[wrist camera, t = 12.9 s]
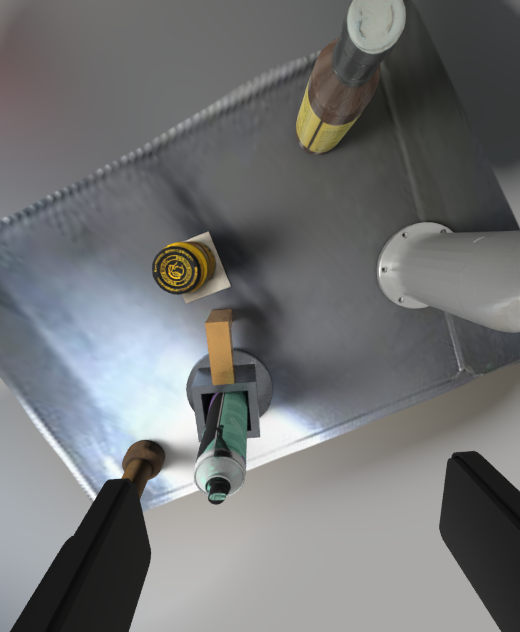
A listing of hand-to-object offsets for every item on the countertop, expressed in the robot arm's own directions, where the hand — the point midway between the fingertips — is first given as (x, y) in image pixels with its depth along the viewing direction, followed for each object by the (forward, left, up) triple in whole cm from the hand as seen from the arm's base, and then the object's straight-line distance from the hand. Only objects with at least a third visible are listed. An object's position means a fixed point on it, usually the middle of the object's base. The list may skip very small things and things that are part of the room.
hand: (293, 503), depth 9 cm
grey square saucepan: (+6, +13, -36) cm, 39 cm away
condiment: (+9, -4, -37) cm, 38 cm away
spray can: (+6, +16, -36) cm, 39 cm away
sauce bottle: (-9, -21, -36) cm, 43 cm away
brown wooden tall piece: (+22, +28, -36) cm, 51 cm away
